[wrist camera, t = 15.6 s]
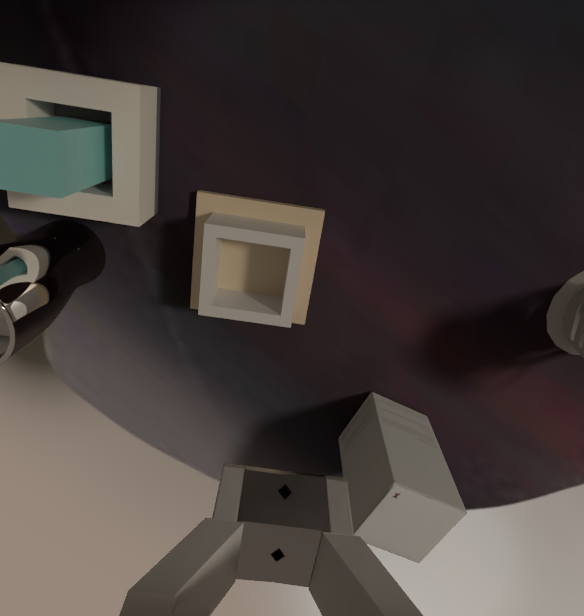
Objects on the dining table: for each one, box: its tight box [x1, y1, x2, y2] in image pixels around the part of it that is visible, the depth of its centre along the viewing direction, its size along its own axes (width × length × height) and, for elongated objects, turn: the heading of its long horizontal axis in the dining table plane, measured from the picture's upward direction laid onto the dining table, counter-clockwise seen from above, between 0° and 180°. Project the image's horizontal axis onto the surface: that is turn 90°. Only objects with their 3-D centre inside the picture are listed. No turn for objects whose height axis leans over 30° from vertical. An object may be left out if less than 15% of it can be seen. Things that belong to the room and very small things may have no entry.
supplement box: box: [339, 392, 467, 563], centre depth 43 cm, size 7×7×13 cm
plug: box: [0, 116, 113, 199], centre depth 32 cm, size 4×4×10 cm
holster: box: [190, 190, 325, 328], centre depth 39 cm, size 11×11×5 cm
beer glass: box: [0, 220, 106, 365], centre depth 34 cm, size 7×7×15 cm
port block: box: [0, 62, 161, 227], centre depth 35 cm, size 10×10×5 cm
